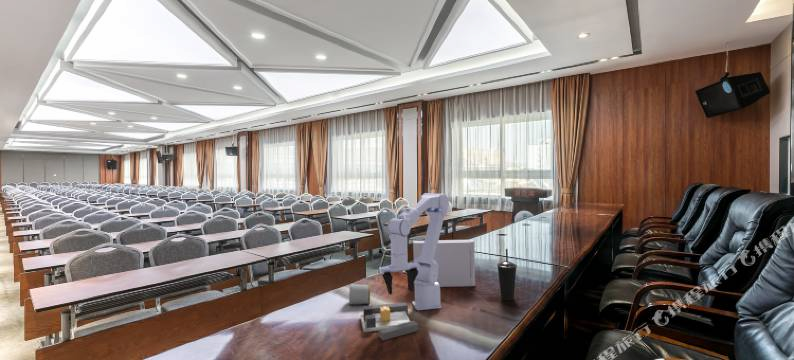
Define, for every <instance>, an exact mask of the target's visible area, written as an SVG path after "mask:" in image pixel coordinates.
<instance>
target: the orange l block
mask: <svg viewBox="0 0 794 360" xmlns="http://www.w3.org/2000/svg"><path fill="white" fill-rule="evenodd" d="M380 318H381V321H388V320H390V309H389V307H386V306H383V307H380Z"/></svg>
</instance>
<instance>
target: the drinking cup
mask: <svg viewBox="0 0 794 360" xmlns="http://www.w3.org/2000/svg"><path fill="white" fill-rule="evenodd" d="M508 253H509V252H508V248H505V261H500V262H498V263H497V264H496V267H497V272H498V273H497V274H498V281H499V290H500V299H501V300H502V301H506V302H510V301H511V302H512V301H514V300H515V289H516V275H517V267H518V265H517V264H516V263H514V262H512V261H509V256H508V255H509V254H508Z"/></svg>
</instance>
